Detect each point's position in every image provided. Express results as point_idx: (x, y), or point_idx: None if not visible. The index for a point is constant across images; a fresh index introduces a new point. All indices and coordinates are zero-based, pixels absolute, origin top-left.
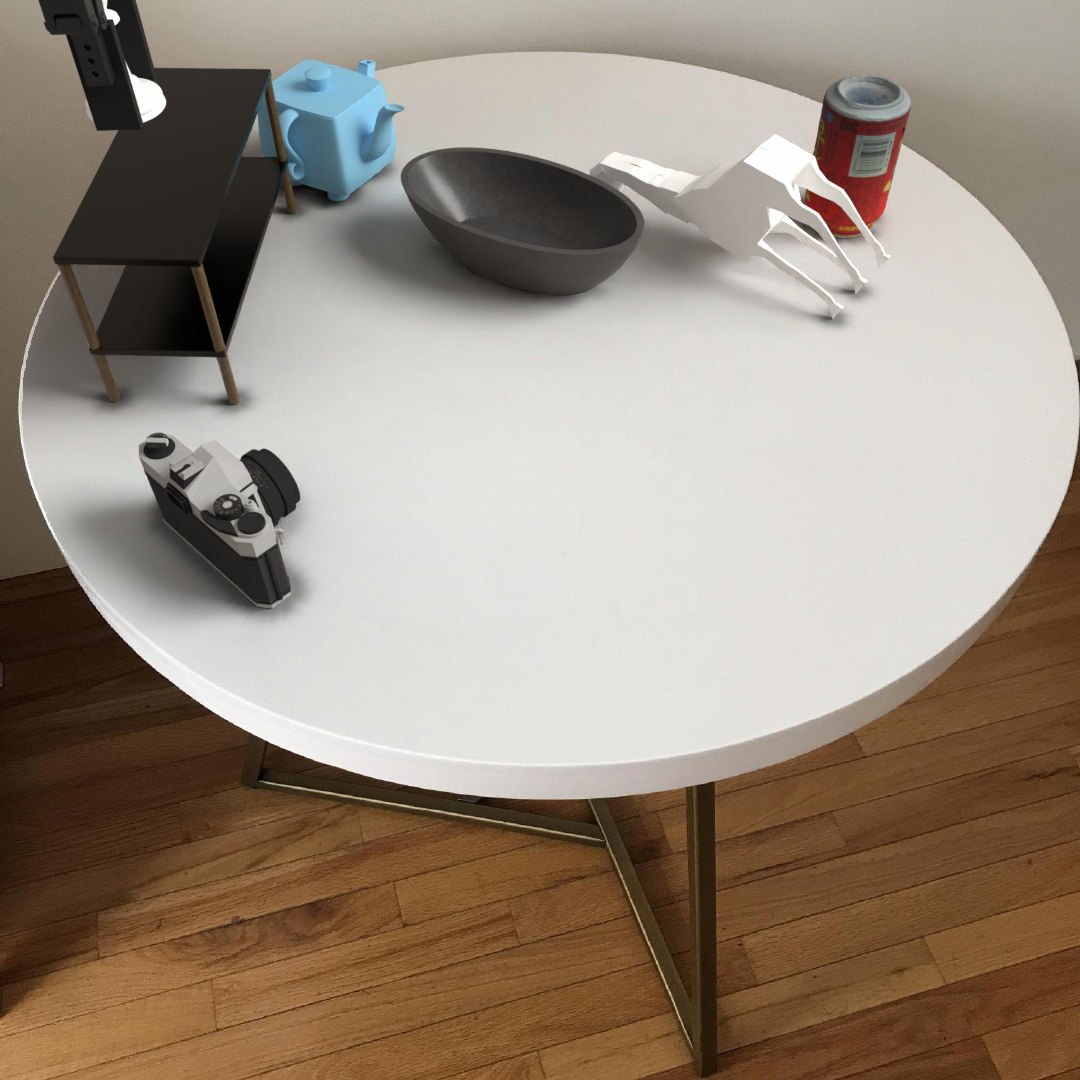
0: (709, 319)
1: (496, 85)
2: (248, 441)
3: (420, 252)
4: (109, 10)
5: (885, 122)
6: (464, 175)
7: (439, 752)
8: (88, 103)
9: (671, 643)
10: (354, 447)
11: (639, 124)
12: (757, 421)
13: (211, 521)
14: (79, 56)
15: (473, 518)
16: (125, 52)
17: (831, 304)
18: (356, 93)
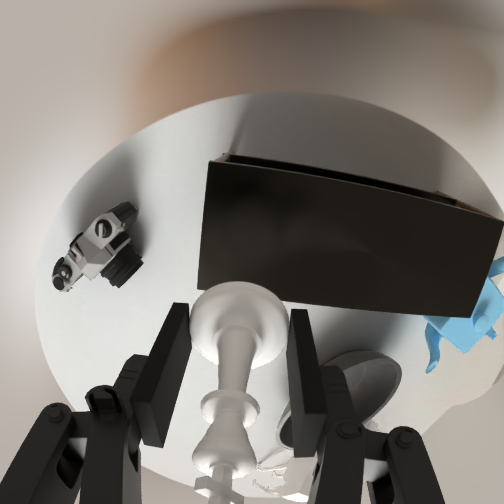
0: (265, 438)
1: (483, 363)
2: (185, 243)
3: (353, 337)
4: (247, 423)
5: None
6: (385, 378)
7: (36, 317)
8: (165, 322)
9: (89, 390)
10: (179, 300)
11: (421, 420)
12: (198, 438)
13: (57, 263)
14: (115, 385)
15: (135, 346)
16: (291, 360)
17: (260, 468)
18: (460, 340)
